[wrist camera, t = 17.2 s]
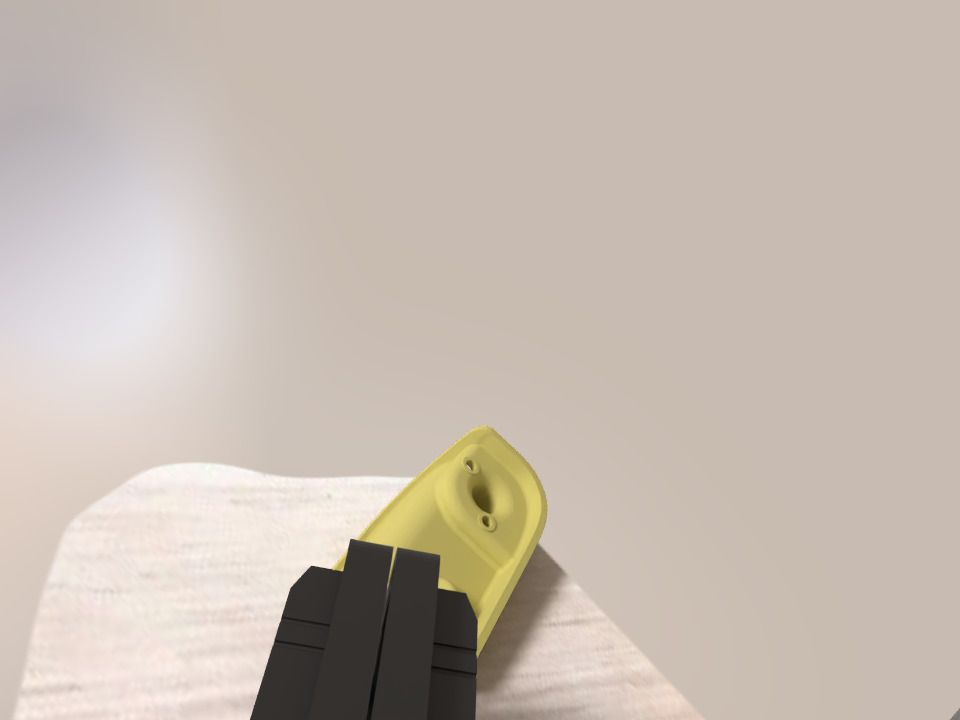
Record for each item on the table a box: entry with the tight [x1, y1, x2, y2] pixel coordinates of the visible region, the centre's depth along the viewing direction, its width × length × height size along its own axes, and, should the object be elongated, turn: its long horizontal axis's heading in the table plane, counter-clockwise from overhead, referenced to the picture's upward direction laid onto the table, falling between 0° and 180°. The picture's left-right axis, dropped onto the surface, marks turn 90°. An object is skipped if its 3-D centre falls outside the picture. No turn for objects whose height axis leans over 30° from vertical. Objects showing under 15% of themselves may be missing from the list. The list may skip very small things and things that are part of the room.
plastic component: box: [332, 426, 547, 658], centre depth 56 cm, size 20×7×10 cm
